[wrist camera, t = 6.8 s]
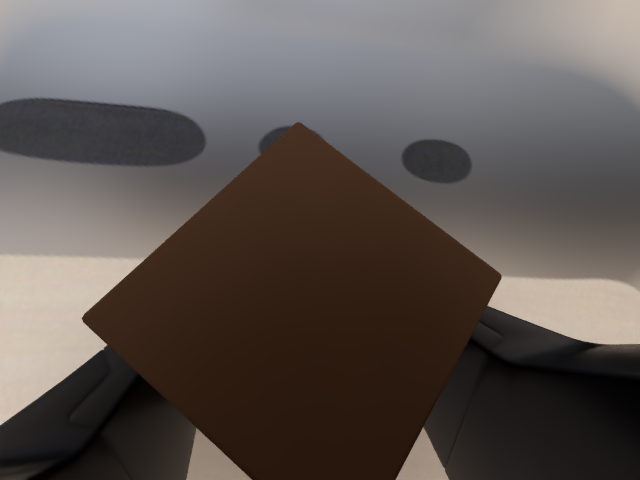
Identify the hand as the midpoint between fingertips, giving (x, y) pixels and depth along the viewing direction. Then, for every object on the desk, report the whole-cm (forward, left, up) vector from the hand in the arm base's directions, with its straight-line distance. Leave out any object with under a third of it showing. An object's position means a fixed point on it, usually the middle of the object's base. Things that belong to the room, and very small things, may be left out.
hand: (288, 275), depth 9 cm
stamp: (-1, -1, -7) cm, 7 cm away
